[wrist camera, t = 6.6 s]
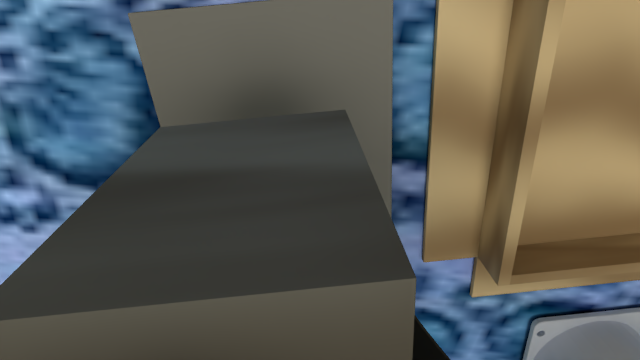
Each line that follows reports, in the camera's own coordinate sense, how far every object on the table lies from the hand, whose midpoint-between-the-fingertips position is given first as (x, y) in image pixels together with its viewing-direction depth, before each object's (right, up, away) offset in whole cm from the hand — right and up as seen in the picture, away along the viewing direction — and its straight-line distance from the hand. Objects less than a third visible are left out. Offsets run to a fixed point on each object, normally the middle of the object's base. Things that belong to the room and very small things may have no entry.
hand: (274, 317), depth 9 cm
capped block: (0, +1, +2) cm, 2 cm away
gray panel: (-1, +4, +8) cm, 9 cm away
